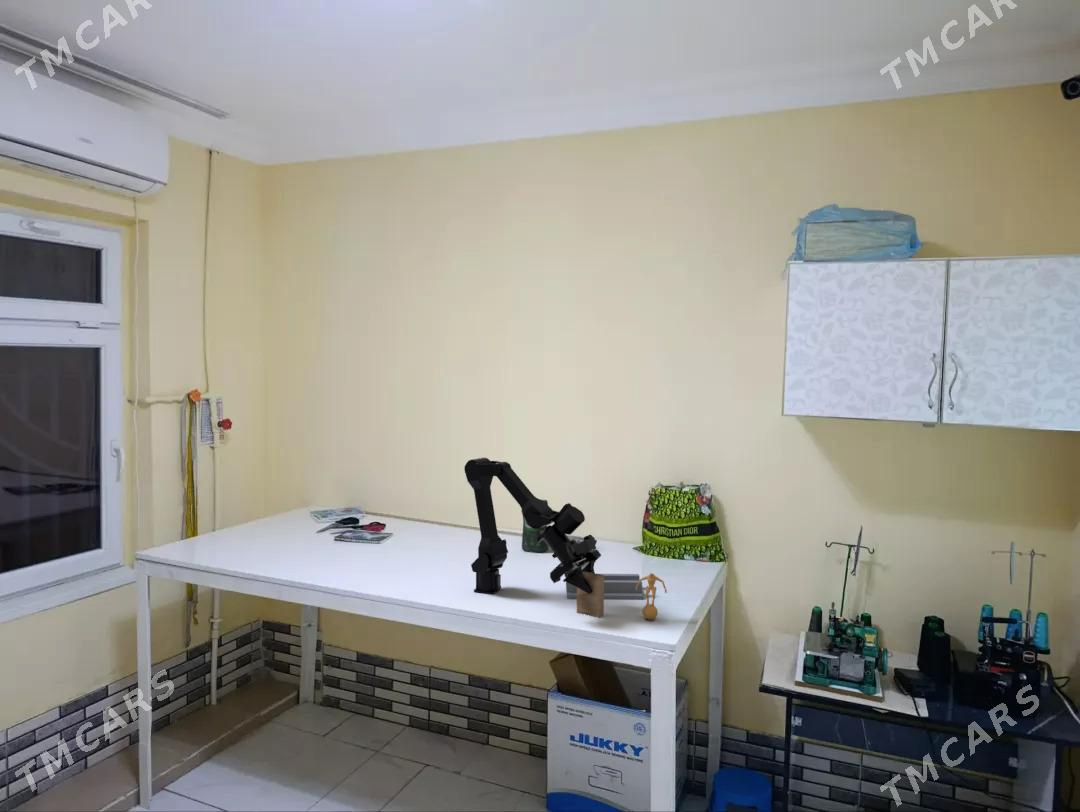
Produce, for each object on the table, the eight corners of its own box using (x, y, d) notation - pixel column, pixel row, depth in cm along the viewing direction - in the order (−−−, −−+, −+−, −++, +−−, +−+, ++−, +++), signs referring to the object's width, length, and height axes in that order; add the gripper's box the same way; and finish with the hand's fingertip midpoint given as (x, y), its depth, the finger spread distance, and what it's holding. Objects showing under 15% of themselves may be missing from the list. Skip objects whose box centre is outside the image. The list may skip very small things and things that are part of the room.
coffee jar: (551, 548, 263) (551, 498, 261) (543, 554, 255) (543, 502, 254) (526, 546, 266) (526, 496, 265) (518, 551, 259) (518, 500, 258)
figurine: (633, 620, 190) (633, 575, 189) (636, 612, 196) (637, 569, 195) (664, 623, 188) (665, 578, 187) (667, 615, 193) (668, 571, 193)
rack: (566, 598, 207) (566, 584, 207) (565, 583, 221) (565, 570, 221) (643, 599, 207) (643, 585, 207) (637, 584, 221) (637, 571, 221)
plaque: (576, 612, 196) (576, 573, 195) (581, 610, 198) (581, 570, 197) (599, 618, 192) (599, 577, 191) (603, 615, 194) (604, 575, 193)
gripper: (559, 533, 188) (595, 582, 182) (595, 520, 203) (630, 565, 198) (534, 558, 193) (569, 607, 187) (571, 544, 208) (604, 588, 203)
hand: (594, 591), depth 194 cm, fingers open, 4 cm apart
